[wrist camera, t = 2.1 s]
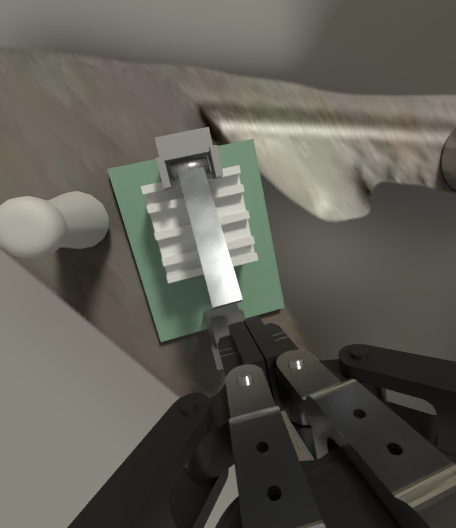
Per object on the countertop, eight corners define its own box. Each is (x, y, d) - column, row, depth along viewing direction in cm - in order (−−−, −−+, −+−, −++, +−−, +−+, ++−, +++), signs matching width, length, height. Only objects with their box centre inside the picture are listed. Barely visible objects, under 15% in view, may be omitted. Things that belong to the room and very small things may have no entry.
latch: (231, 282, 33) (249, 311, 24) (239, 317, 34) (259, 357, 25) (198, 291, 33) (205, 324, 24) (207, 325, 34) (217, 370, 25)
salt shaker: (47, 205, 30) (-50, 204, 17) (97, 184, 30) (37, 168, 18) (75, 253, 31) (4, 285, 19) (123, 233, 32) (84, 251, 19)
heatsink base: (250, 139, 32) (277, 112, 23) (281, 304, 37) (314, 337, 27) (109, 168, 30) (77, 151, 21) (161, 337, 35) (154, 384, 26)
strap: (206, 163, 25) (205, 152, 23) (247, 300, 21) (249, 297, 20) (171, 170, 24) (168, 160, 23) (206, 311, 21) (205, 309, 19)
